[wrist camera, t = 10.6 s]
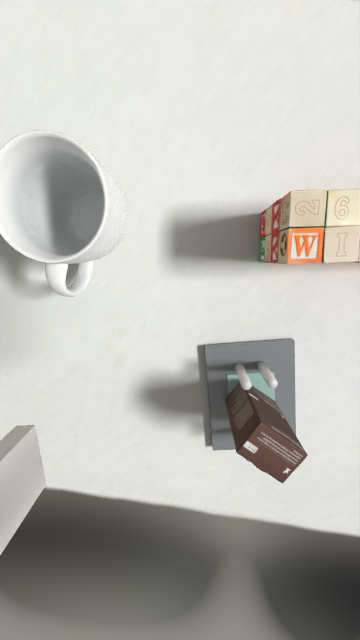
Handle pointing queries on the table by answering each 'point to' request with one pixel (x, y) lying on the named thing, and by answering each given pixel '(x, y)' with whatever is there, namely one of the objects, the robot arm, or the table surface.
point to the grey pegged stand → (249, 380)
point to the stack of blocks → (312, 228)
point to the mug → (59, 206)
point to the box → (263, 433)
